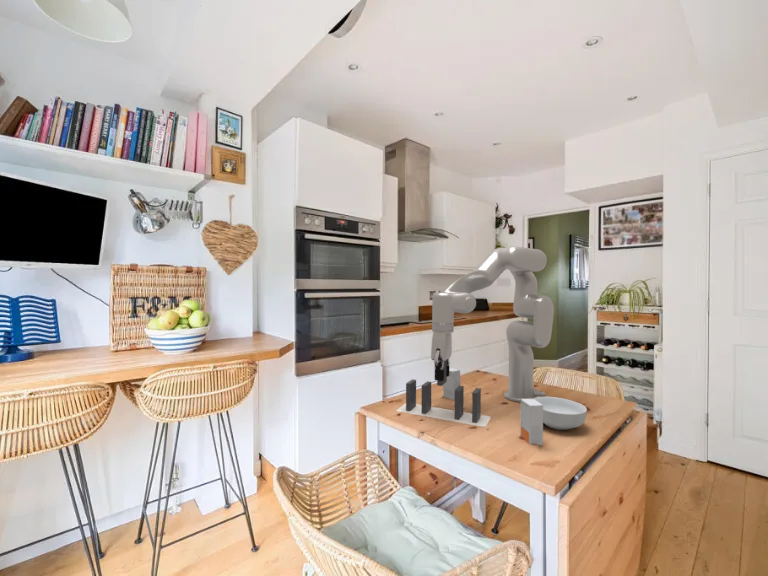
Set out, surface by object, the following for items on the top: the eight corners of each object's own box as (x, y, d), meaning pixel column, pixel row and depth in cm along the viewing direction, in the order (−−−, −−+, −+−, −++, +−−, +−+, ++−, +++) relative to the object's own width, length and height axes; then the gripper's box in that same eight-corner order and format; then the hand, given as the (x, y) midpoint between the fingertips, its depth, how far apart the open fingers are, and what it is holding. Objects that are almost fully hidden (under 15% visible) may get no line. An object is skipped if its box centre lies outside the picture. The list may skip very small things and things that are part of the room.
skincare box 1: (461, 399, 145) (461, 369, 145) (454, 402, 142) (454, 371, 142) (449, 395, 150) (449, 367, 150) (442, 398, 147) (442, 368, 147)
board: (491, 418, 126) (491, 416, 126) (485, 428, 117) (485, 427, 117) (406, 404, 140) (406, 402, 140) (395, 412, 131) (395, 410, 131)
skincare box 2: (519, 437, 111) (520, 398, 110) (533, 436, 111) (533, 398, 111) (529, 446, 105) (529, 405, 104) (543, 445, 105) (543, 405, 105)
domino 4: (463, 414, 128) (463, 386, 128) (459, 419, 123) (459, 390, 122) (458, 413, 129) (459, 385, 128) (454, 419, 123) (454, 390, 123)
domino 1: (416, 406, 136) (416, 379, 136) (410, 411, 131) (410, 383, 130) (412, 405, 137) (412, 379, 136) (406, 410, 131) (406, 383, 131)
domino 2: (431, 408, 133) (431, 381, 133) (425, 414, 128) (425, 386, 128) (427, 407, 134) (427, 381, 134) (421, 413, 129) (421, 385, 128)
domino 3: (437, 385, 126) (437, 356, 125) (442, 381, 131) (442, 353, 131) (441, 386, 125) (442, 357, 125) (446, 381, 130) (447, 354, 130)
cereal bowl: (567, 440, 108) (567, 417, 108) (520, 422, 122) (520, 401, 122) (597, 428, 117) (597, 407, 117) (550, 412, 131) (550, 393, 131)
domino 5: (480, 417, 125) (480, 388, 125) (476, 423, 120) (477, 393, 120) (475, 416, 126) (476, 387, 126) (472, 422, 121) (472, 392, 120)
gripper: (439, 324, 137) (439, 371, 137) (424, 329, 121) (423, 382, 122) (459, 325, 134) (458, 374, 134) (446, 331, 118) (445, 385, 118)
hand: (442, 377), depth 128 cm, fingers closed on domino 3, 5 cm apart
